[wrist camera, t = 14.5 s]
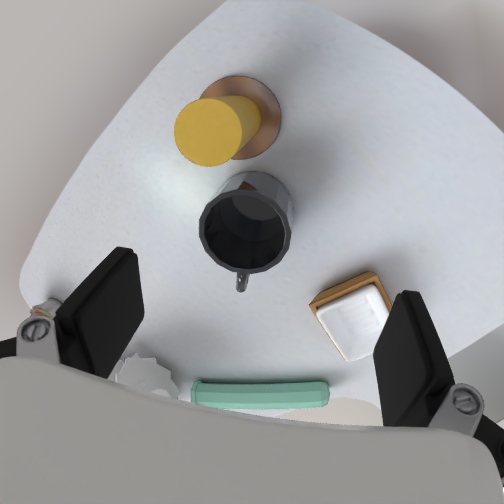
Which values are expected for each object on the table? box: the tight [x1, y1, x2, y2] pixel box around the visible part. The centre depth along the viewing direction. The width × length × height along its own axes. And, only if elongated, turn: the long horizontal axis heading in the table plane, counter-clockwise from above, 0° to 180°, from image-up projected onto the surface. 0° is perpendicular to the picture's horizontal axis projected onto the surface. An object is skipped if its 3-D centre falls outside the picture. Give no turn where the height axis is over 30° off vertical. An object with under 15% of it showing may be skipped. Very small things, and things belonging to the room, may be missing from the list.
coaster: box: [199, 76, 281, 160], centre depth 34 cm, size 10×10×1 cm
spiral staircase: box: [108, 353, 181, 399], centre depth 53 cm, size 18×18×25 cm
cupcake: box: [30, 299, 62, 319], centre depth 51 cm, size 9×9×10 cm
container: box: [191, 381, 330, 409], centre depth 54 cm, size 6×6×25 cm
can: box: [174, 96, 261, 167], centre depth 29 cm, size 6×6×12 cm
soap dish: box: [309, 271, 392, 362], centre depth 42 cm, size 12×10×5 cm
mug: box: [199, 171, 293, 292], centre depth 37 cm, size 13×10×8 cm
